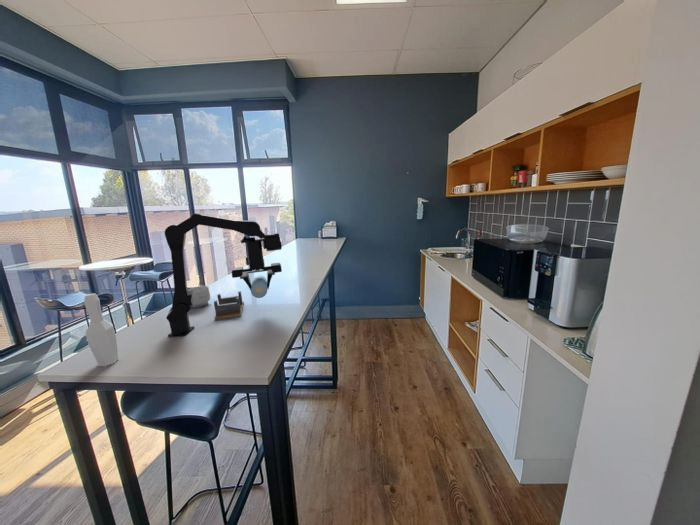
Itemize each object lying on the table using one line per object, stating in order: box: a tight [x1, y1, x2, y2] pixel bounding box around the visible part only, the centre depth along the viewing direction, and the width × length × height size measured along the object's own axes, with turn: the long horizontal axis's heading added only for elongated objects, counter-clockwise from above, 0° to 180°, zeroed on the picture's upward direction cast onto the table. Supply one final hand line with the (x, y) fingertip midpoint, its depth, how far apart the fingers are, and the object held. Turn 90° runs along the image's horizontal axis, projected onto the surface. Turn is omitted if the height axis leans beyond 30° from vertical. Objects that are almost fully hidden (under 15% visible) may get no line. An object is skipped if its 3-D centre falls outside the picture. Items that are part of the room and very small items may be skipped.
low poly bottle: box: [83, 292, 119, 367], centre depth 82 cm, size 6×6×22 cm
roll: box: [250, 275, 268, 299], centre depth 111 cm, size 12×6×6 cm, turn 17°
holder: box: [213, 290, 245, 321], centre depth 119 cm, size 16×10×7 cm, turn 17°
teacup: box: [188, 284, 211, 309], centre depth 130 cm, size 14×11×8 cm
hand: (260, 290), depth 112 cm, fingers closed on roll, 6 cm apart
